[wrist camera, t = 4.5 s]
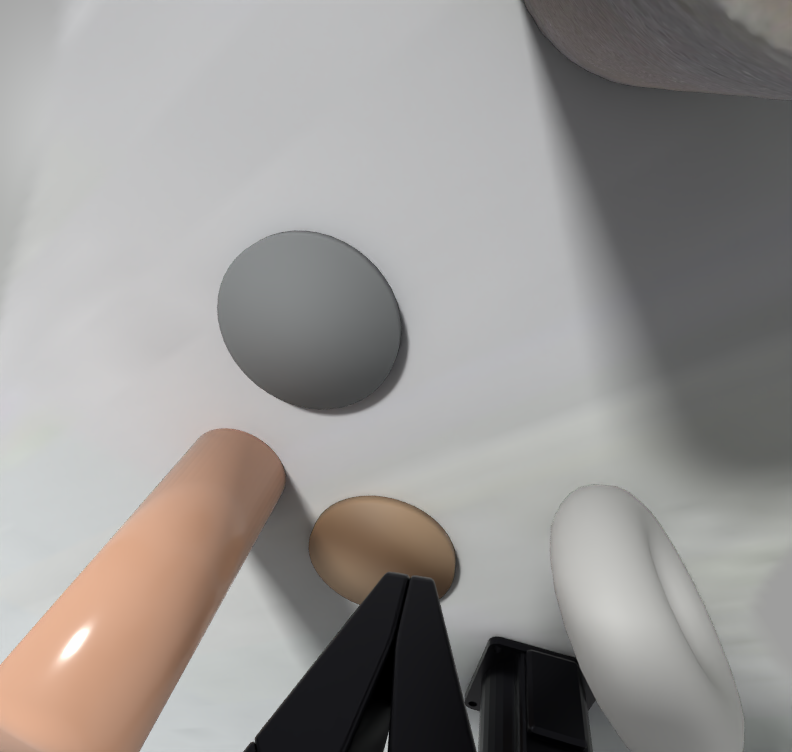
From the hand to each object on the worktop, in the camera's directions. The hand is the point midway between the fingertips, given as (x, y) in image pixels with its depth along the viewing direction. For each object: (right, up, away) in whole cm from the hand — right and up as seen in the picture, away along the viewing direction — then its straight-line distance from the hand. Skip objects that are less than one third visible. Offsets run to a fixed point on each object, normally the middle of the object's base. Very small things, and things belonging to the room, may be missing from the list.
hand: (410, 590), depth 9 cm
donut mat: (-1, -5, +18) cm, 19 cm away
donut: (+10, -3, +15) cm, 18 cm away
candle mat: (-4, +6, +13) cm, 14 cm away
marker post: (-8, -1, +17) cm, 19 cm away
